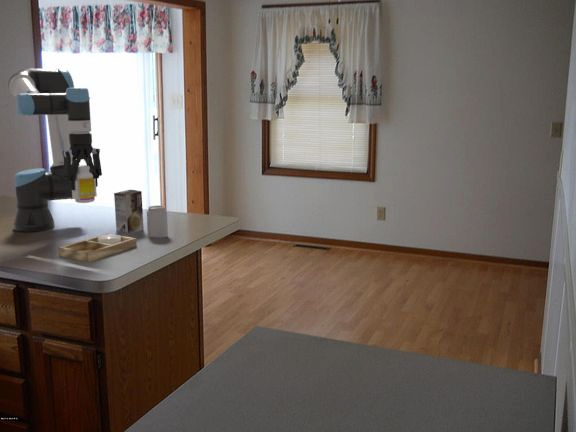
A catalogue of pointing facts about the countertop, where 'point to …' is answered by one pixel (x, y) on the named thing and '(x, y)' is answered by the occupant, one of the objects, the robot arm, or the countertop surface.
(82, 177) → the supplement bottle
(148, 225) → the can
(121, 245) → the rack
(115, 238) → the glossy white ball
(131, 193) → the coffee box
